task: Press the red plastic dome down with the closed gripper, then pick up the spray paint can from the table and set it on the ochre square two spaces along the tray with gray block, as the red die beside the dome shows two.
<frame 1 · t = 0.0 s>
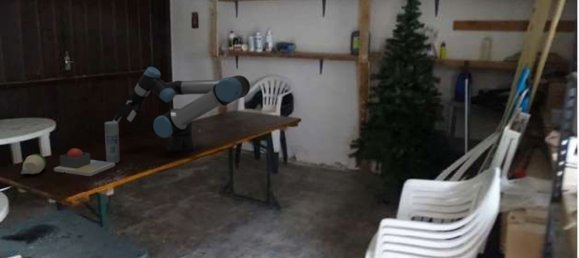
hand: (121, 122, 267), 15 cm above the table, fingers open, 13 cm apart
spray paint can: (113, 161, 247), on the table
red dome: (75, 155, 234), point 6 cm above the table, slide at 0.0 cm
cartoon head: (34, 172, 226), on the table
tray with gray block: (85, 168, 235), on the table
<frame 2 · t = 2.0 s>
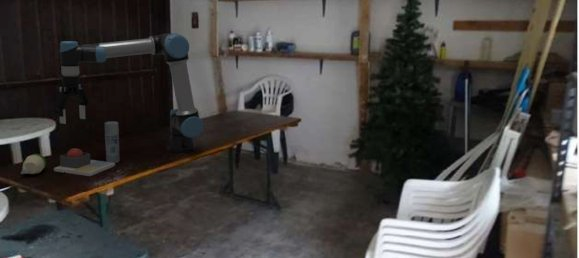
hand: (73, 121, 230), 23 cm above the table, fingers open, 12 cm apart
nothing on the table moved.
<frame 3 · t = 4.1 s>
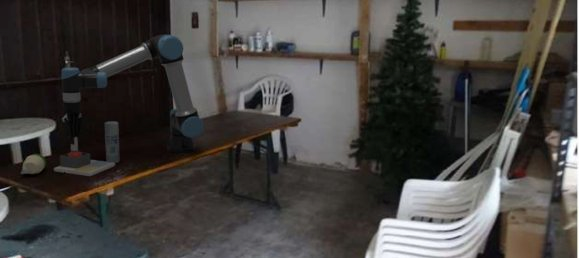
hand: (74, 150, 233), 9 cm above the table, fingers closed
red dome: (75, 157, 234), point 5 cm above the table, slide at 1.1 cm, touching tray with gray block, gripper
everything else where it was.
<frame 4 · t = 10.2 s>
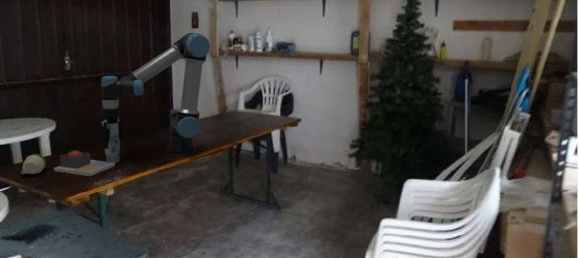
hand: (112, 152, 246), 4 cm above the table, fingers closed on spray paint can, 6 cm apart
spray paint can: (113, 161, 247), on the table, touching gripper
red dome: (75, 157, 234), point 5 cm above the table, slide at 1.1 cm, touching tray with gray block
everything else where it was.
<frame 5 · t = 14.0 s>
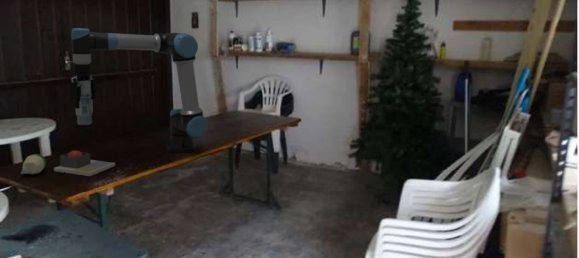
hand: (84, 114, 224), 27 cm above the table, fingers closed on spray paint can, 6 cm apart
spray paint can: (84, 124, 225), point 23 cm above the table, touching gripper
everything else where it was.
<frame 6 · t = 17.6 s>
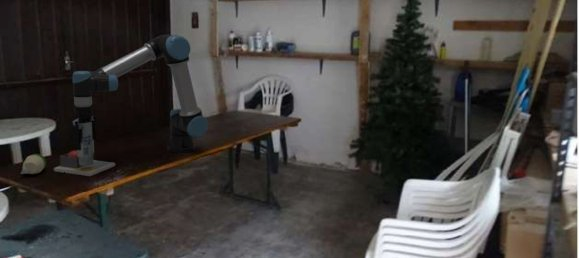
hand: (86, 154, 227), 8 cm above the table, fingers closed on spray paint can, 6 cm apart
spray paint can: (86, 164, 228), point 4 cm above the table, touching gripper
everything else where it was.
when the fingers open (8 cm above the table, at t = 18.1 s): spray paint can drops 2 cm, resting on tray with gray block.
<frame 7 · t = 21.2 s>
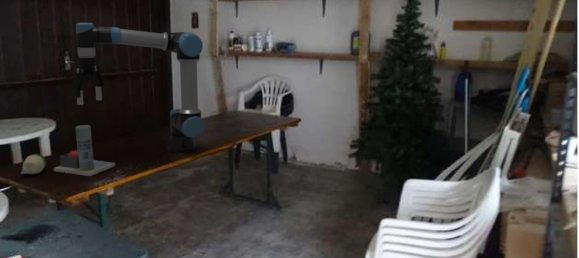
hand: (90, 102, 231), 32 cm above the table, fingers open, 13 cm apart
spray paint can: (86, 168, 229), point 2 cm above the table, touching tray with gray block
everything else where it was.
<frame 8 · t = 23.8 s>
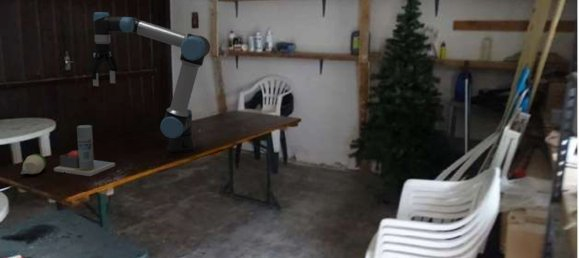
hand: (104, 84, 255), 37 cm above the table, fingers open, 13 cm apart
nothing on the table moved.
at the end: red dome slide at 1.1 cm; spray paint can 0.1 cm from the target spot, point 1.5 cm above the table; spray paint can tilted 1° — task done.
